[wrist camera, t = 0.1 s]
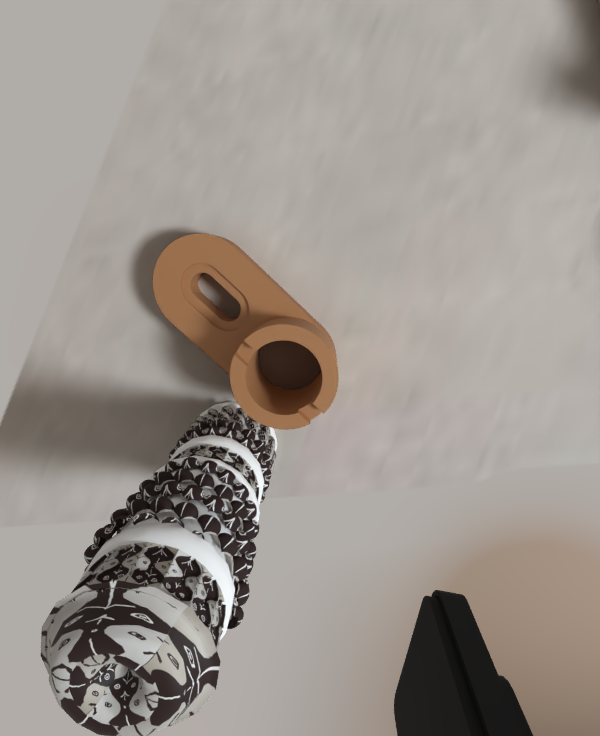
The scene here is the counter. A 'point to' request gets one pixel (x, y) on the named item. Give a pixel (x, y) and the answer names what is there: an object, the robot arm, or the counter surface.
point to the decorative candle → (164, 583)
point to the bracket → (244, 327)
